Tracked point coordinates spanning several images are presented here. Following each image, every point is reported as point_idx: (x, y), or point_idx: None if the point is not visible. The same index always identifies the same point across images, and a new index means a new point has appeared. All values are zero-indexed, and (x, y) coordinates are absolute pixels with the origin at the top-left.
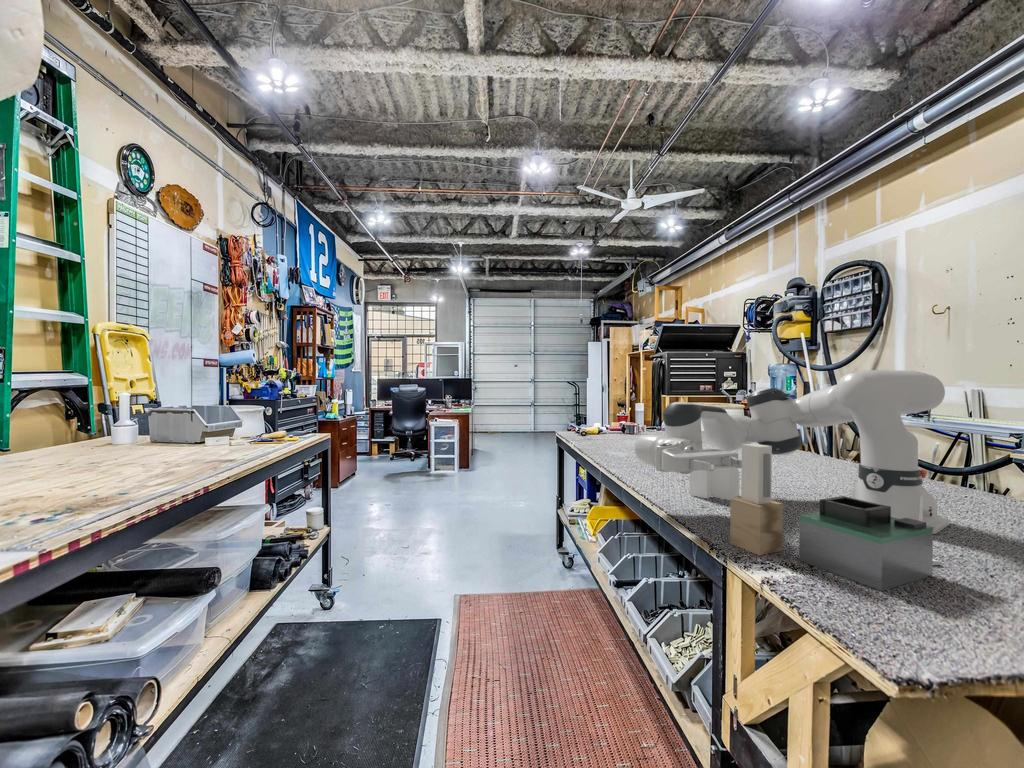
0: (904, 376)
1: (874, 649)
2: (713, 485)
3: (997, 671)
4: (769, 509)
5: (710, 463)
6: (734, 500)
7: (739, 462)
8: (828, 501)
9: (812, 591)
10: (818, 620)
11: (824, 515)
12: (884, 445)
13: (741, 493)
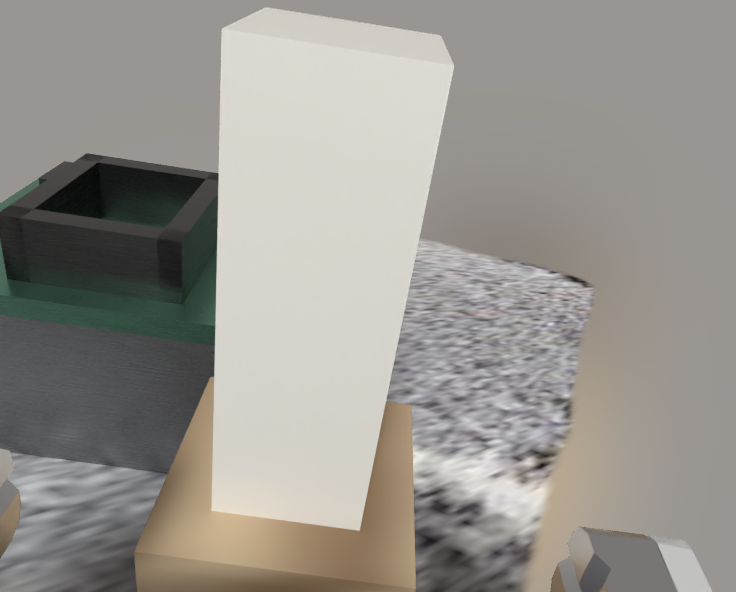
0: None
1: (556, 305)
2: None
3: (442, 245)
4: None
5: (646, 537)
6: (412, 559)
7: (3, 455)
8: (188, 226)
9: (465, 394)
10: (573, 356)
11: (188, 292)
12: None
13: (366, 496)
